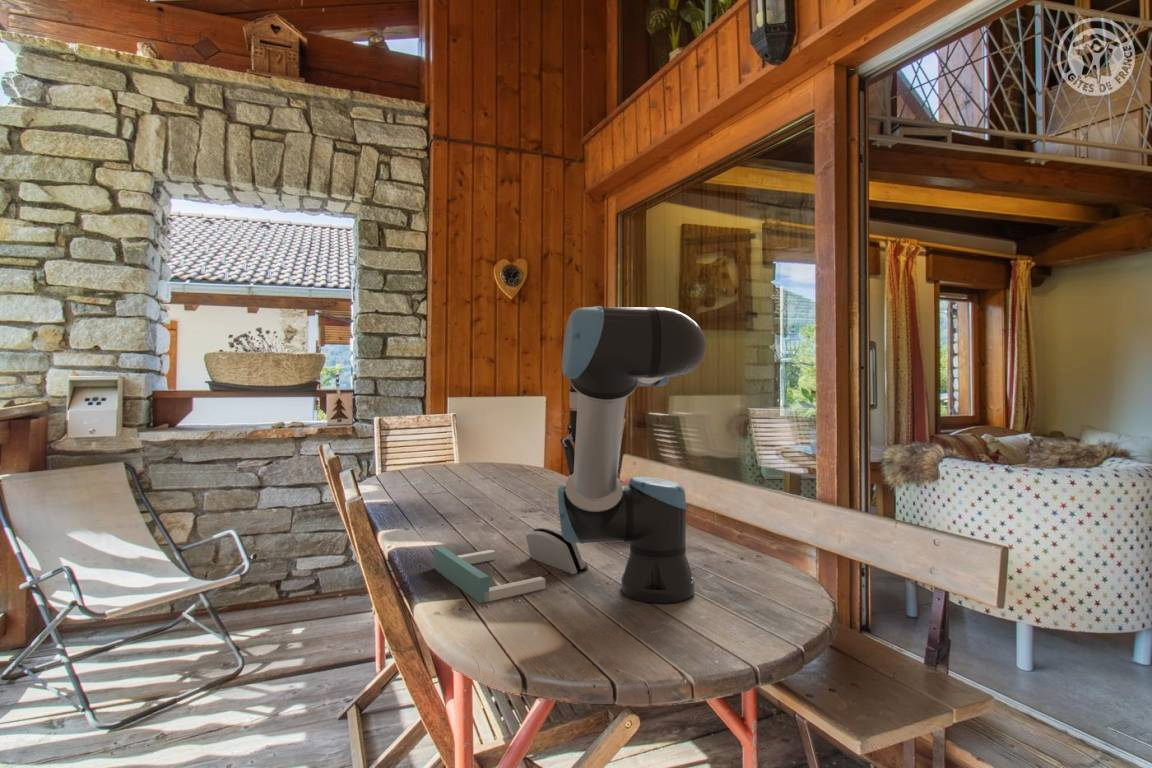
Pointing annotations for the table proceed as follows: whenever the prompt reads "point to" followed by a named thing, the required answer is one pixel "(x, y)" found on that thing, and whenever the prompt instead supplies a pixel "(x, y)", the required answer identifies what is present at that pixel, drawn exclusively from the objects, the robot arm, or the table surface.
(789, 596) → the table surface
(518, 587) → the guide bay
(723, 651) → the table surface
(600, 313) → the robot arm
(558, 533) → the grey half-round casing
